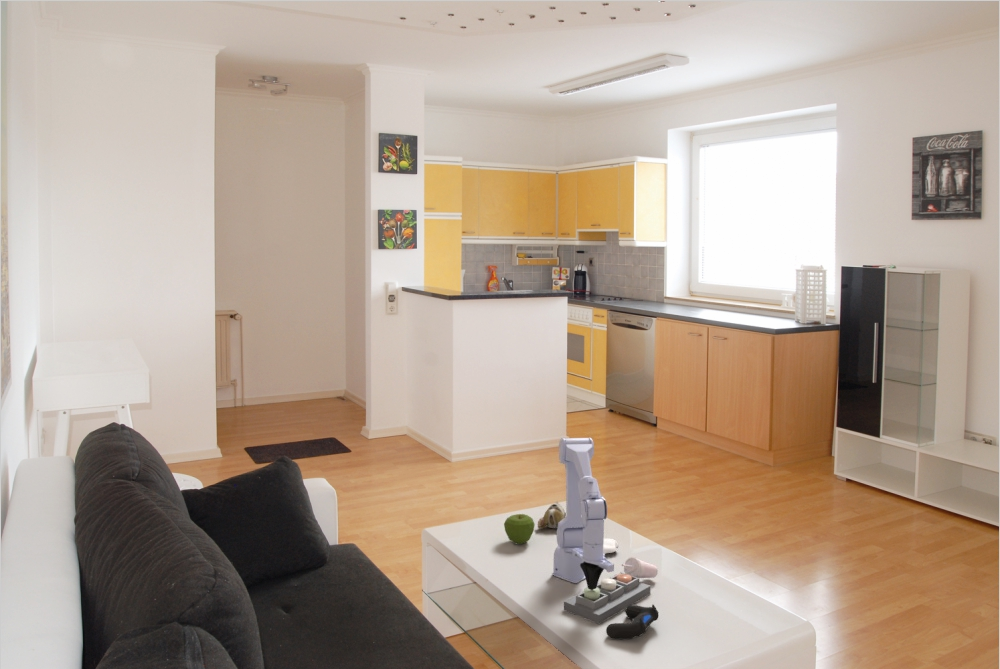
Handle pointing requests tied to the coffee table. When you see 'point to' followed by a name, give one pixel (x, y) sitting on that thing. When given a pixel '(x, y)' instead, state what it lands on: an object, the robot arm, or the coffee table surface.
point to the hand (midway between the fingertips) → (592, 588)
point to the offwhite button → (608, 584)
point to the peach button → (624, 578)
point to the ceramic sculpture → (552, 516)
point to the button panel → (607, 600)
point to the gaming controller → (633, 622)
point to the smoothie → (639, 568)
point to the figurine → (609, 546)
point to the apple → (519, 528)
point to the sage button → (592, 594)
